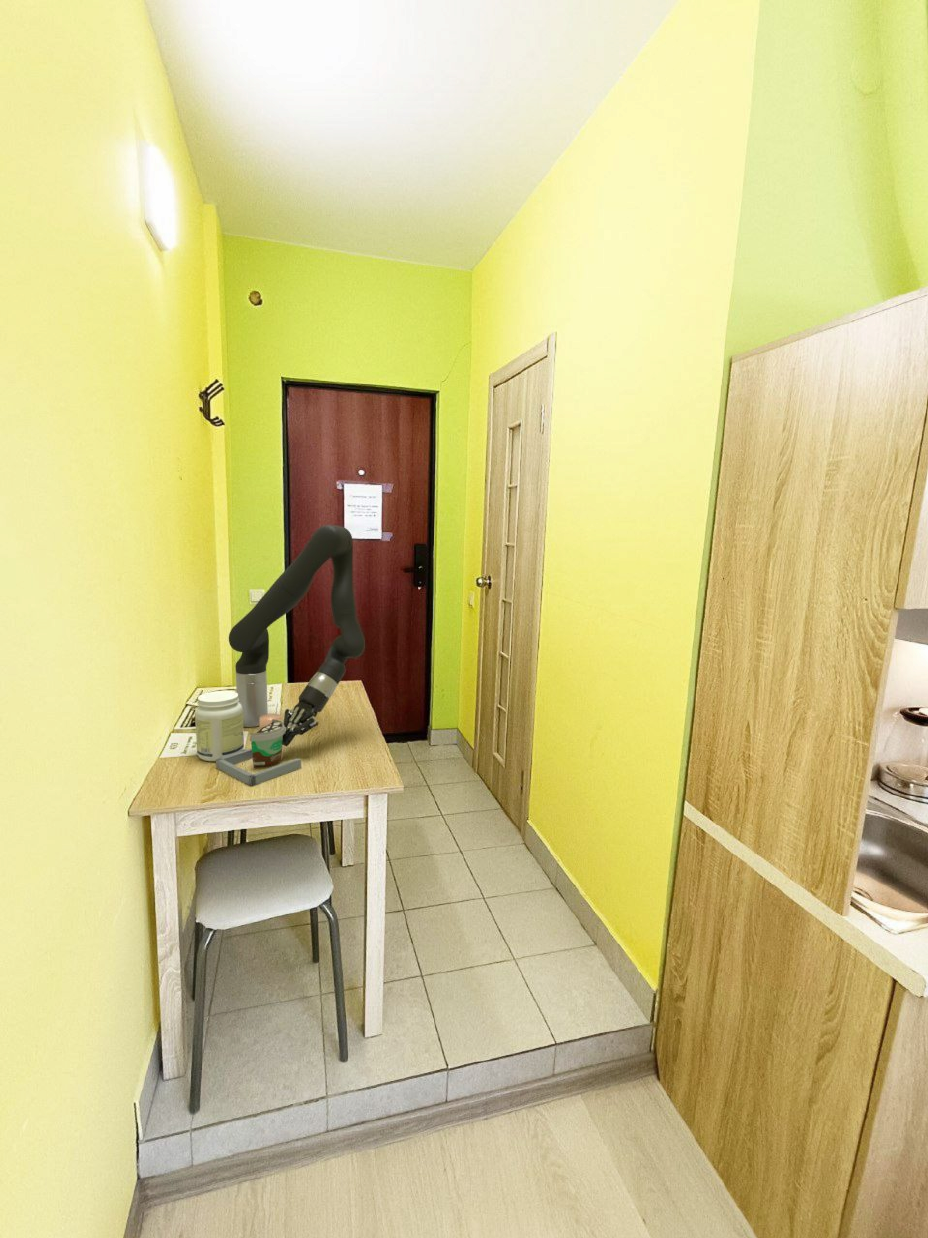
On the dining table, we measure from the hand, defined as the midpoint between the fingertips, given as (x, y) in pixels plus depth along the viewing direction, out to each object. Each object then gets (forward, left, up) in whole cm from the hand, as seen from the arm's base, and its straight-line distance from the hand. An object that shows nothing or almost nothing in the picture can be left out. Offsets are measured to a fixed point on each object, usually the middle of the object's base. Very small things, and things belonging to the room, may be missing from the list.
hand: (283, 744), depth 160 cm
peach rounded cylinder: (-13, +5, -4) cm, 15 cm away
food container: (-1, -3, -5) cm, 5 cm away
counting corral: (0, -8, -4) cm, 9 cm away
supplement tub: (-16, -9, -5) cm, 19 cm away
